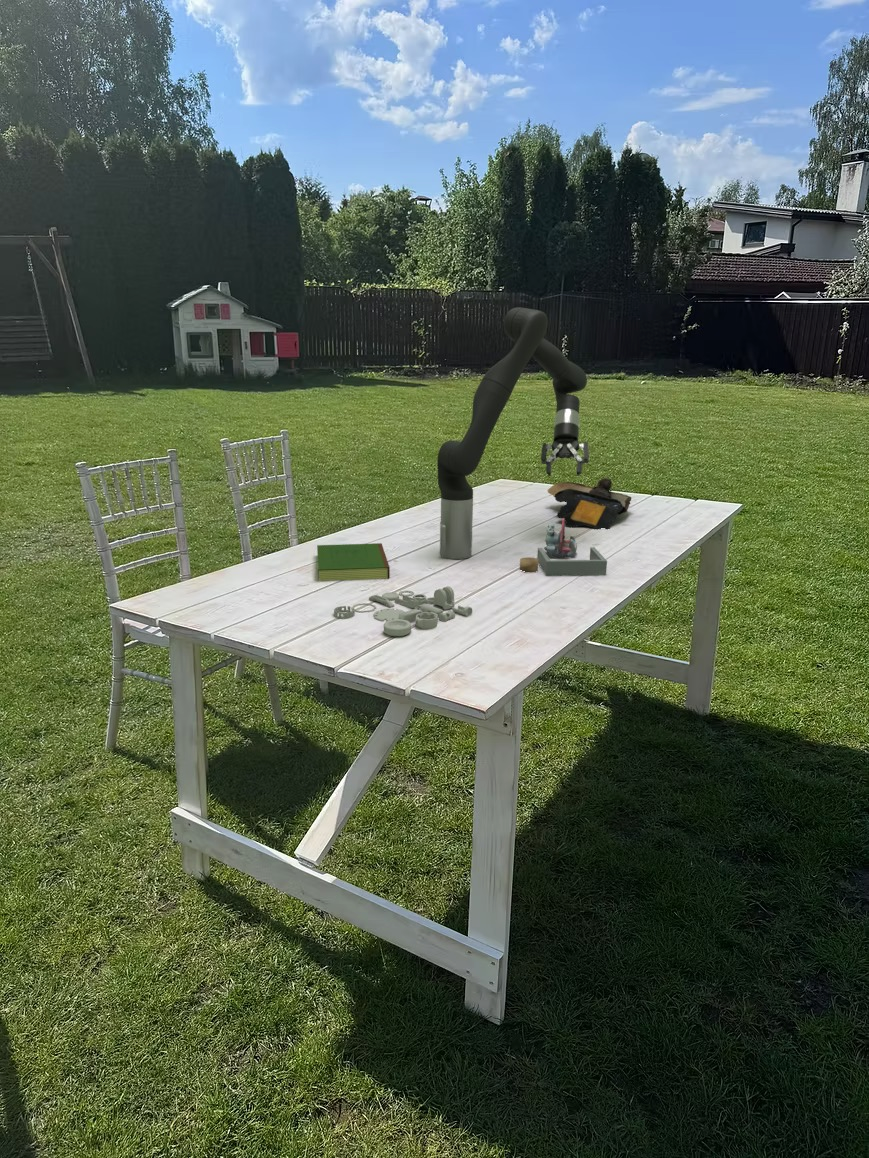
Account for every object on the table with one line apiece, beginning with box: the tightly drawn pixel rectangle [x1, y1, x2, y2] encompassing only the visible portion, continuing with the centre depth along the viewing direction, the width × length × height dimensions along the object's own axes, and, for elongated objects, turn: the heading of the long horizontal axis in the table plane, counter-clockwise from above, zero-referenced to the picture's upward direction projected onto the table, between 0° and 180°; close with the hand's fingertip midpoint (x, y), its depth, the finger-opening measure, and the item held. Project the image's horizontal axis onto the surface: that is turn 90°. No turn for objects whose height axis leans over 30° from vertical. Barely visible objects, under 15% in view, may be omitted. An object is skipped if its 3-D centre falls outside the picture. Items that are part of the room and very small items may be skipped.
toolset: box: [547, 477, 632, 530], centre depth 278 cm, size 40×20×27 cm
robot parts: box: [333, 586, 473, 637], centre depth 183 cm, size 25×25×5 cm
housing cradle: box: [536, 546, 608, 577], centre depth 218 cm, size 16×14×4 cm
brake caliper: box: [543, 518, 578, 558], centre depth 230 cm, size 11×11×12 cm
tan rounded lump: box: [519, 556, 539, 573], centre depth 216 cm, size 5×5×3 cm
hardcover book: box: [316, 542, 391, 582], centre depth 218 cm, size 25×19×4 cm
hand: (563, 474), depth 236 cm, fingers open, 8 cm apart
